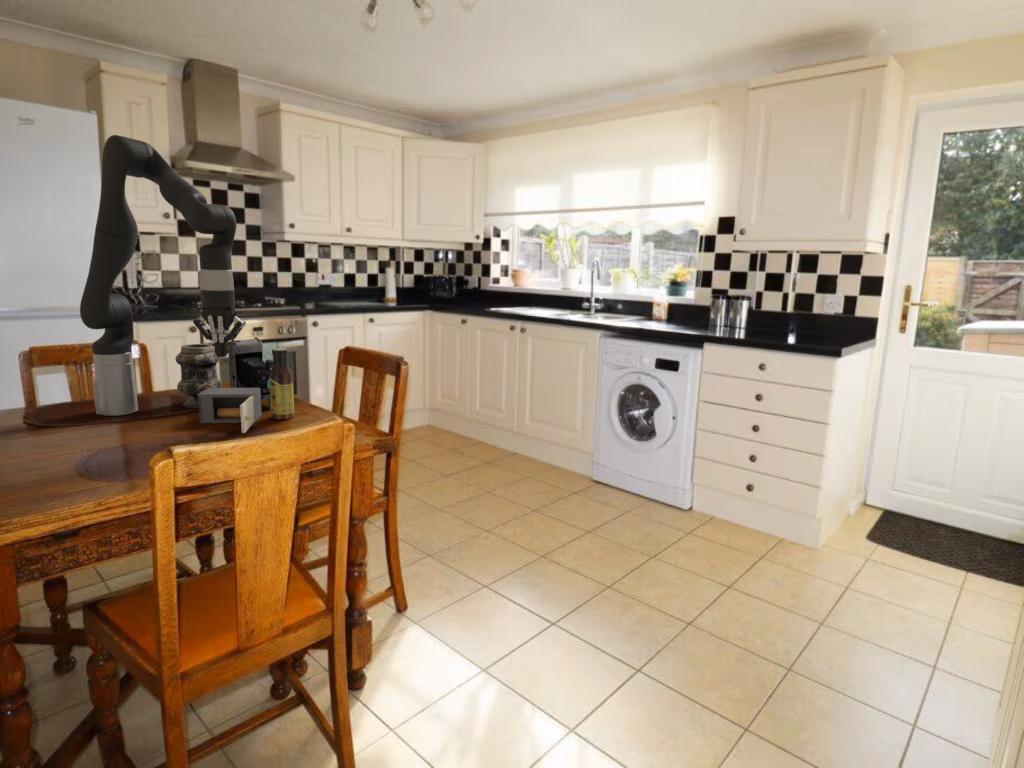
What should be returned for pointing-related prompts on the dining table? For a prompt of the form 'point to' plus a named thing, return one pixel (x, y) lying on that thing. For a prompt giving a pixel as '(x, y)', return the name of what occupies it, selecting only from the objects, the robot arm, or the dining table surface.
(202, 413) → the case
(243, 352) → the vintage camera
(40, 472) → the dining table surface
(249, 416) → the door
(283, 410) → the sauce bottle
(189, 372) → the apothecary jar
